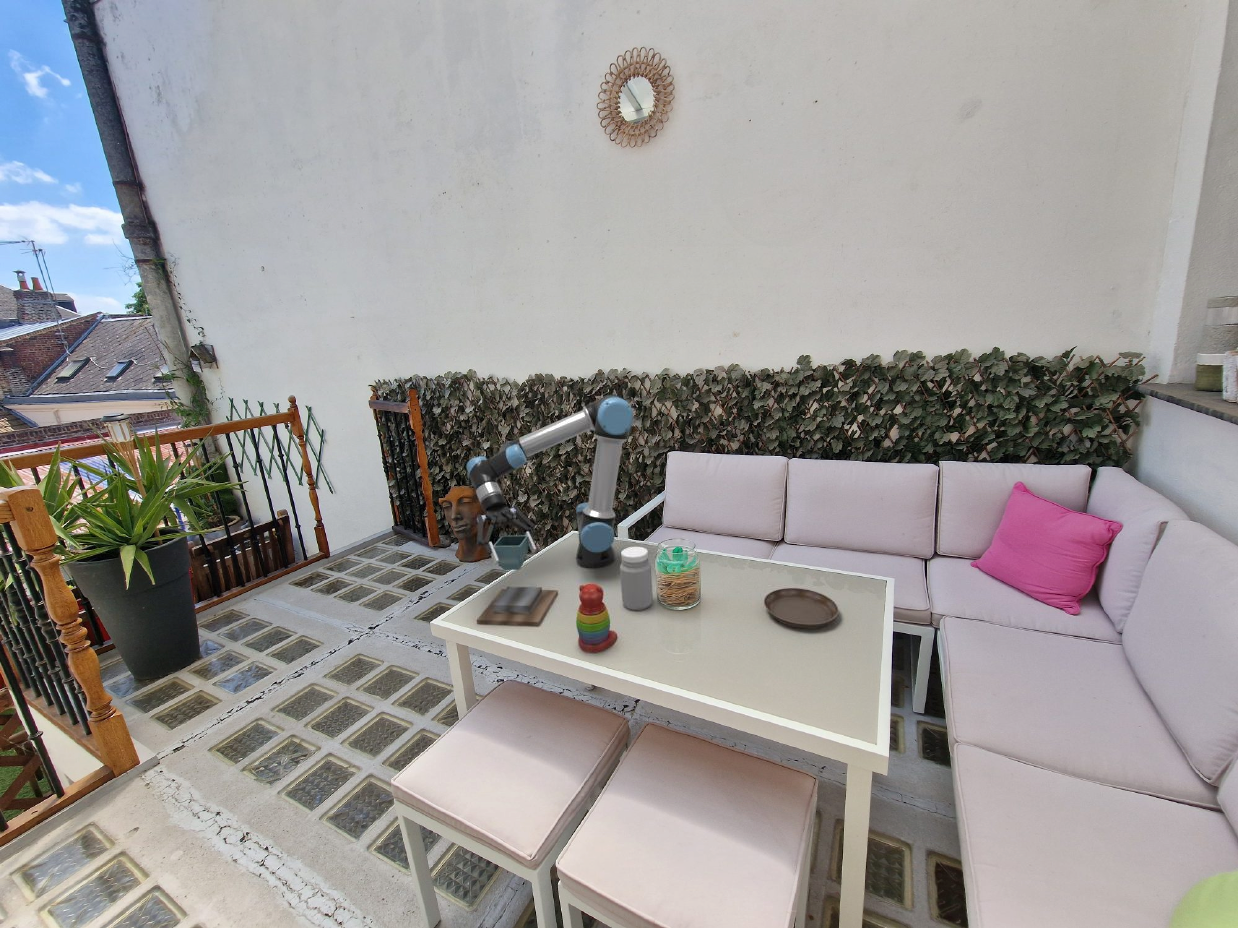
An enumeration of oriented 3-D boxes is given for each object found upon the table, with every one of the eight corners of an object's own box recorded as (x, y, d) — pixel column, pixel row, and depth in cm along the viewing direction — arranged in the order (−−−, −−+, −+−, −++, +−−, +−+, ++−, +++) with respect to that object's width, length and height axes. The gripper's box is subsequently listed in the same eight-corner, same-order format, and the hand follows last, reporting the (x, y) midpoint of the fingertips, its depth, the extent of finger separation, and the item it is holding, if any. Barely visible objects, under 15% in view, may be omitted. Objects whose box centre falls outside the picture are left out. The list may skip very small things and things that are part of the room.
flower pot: (531, 560, 164) (528, 534, 162) (523, 572, 155) (520, 545, 153) (505, 561, 165) (501, 535, 163) (496, 573, 156) (492, 546, 154)
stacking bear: (619, 635, 145) (615, 578, 141) (607, 655, 135) (602, 595, 131) (584, 630, 148) (579, 574, 144) (570, 650, 139) (564, 591, 135)
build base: (558, 594, 171) (556, 581, 170) (539, 626, 152) (537, 612, 151) (502, 592, 175) (500, 580, 174) (477, 624, 156) (475, 610, 155)
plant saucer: (848, 610, 150) (849, 600, 149) (821, 642, 135) (821, 631, 135) (782, 590, 164) (782, 581, 163) (751, 618, 149) (751, 607, 149)
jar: (630, 614, 155) (626, 560, 151) (617, 601, 164) (613, 549, 160) (658, 606, 159) (655, 553, 155) (644, 593, 168) (641, 543, 163)
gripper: (522, 497, 175) (547, 551, 166) (453, 513, 162) (476, 573, 153) (527, 485, 170) (553, 540, 161) (456, 501, 156) (480, 562, 148)
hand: (515, 556), depth 157 cm, fingers closed on flower pot, 12 cm apart
